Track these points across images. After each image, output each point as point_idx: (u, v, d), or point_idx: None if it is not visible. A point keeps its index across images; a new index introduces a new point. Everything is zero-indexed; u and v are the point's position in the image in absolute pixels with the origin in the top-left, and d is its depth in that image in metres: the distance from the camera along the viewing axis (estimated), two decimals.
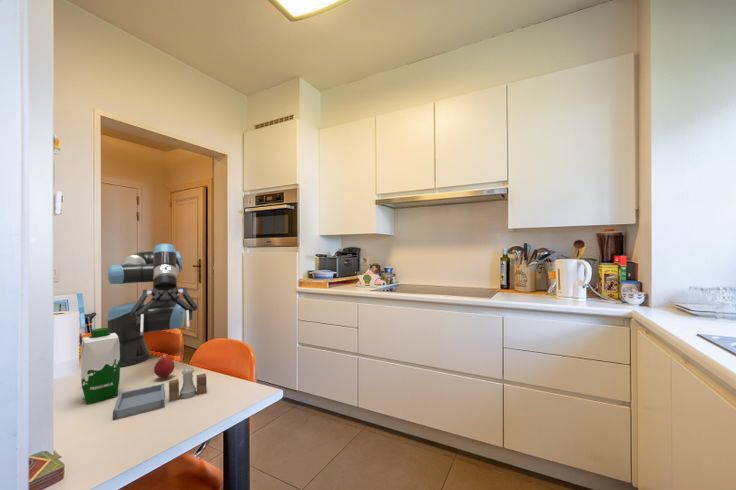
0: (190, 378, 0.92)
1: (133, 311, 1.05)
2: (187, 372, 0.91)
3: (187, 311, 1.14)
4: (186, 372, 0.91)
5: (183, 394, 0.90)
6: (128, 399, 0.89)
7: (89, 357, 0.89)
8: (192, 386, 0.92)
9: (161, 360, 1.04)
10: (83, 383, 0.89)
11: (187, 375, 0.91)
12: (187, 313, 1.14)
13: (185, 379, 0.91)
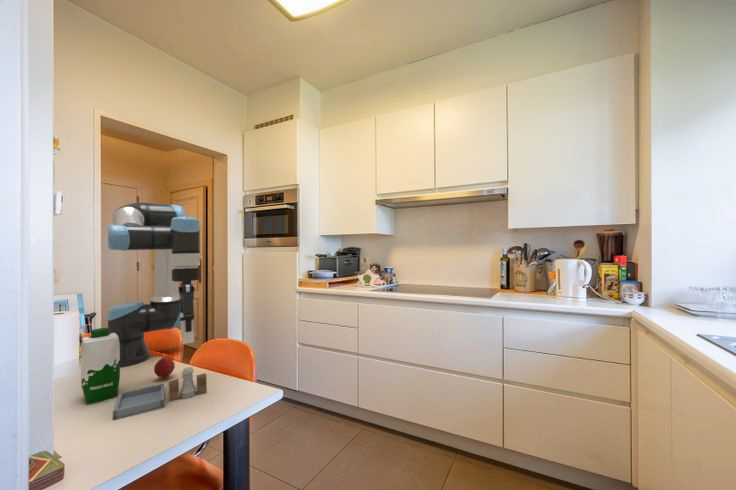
0: (190, 378, 0.92)
1: None
2: (187, 372, 0.91)
3: None
4: (186, 372, 0.91)
5: (183, 394, 0.90)
6: (128, 399, 0.89)
7: (89, 357, 0.89)
8: (192, 386, 0.92)
9: (161, 360, 1.04)
10: (83, 383, 0.89)
11: (187, 375, 0.91)
12: None
13: (185, 379, 0.91)
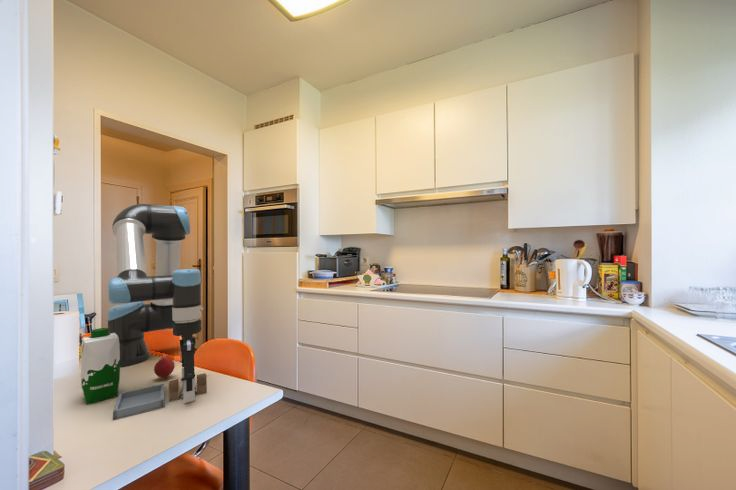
0: None
1: None
2: None
3: None
4: None
5: (183, 394, 0.90)
6: (128, 399, 0.89)
7: (89, 357, 0.89)
8: None
9: (161, 360, 1.04)
10: (83, 383, 0.89)
11: None
12: None
13: None
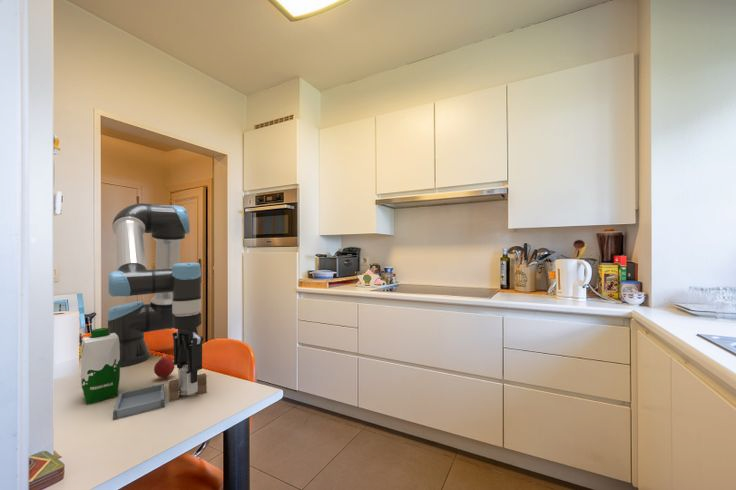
0: None
1: None
2: None
3: None
4: (187, 369, 0.91)
5: (184, 391, 0.90)
6: (128, 399, 0.89)
7: (89, 357, 0.89)
8: None
9: (161, 360, 1.04)
10: (83, 383, 0.89)
11: None
12: None
13: (186, 376, 0.91)
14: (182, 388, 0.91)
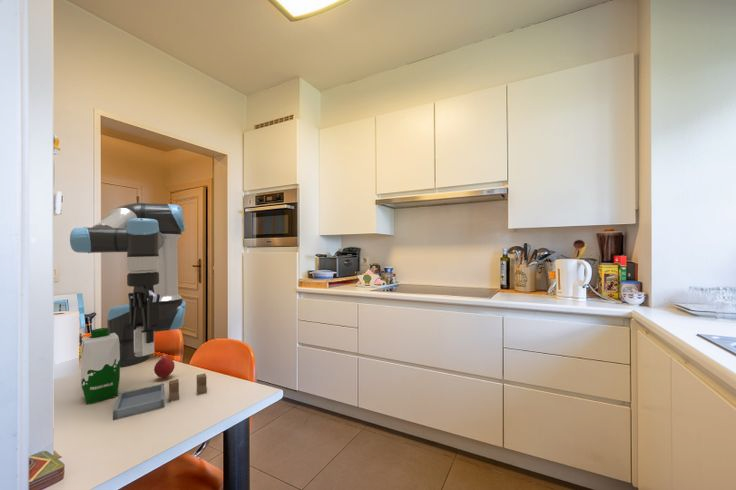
0: None
1: None
2: (142, 329, 0.87)
3: None
4: (141, 330, 0.87)
5: (139, 352, 0.86)
6: (128, 399, 0.89)
7: (89, 357, 0.89)
8: None
9: (161, 360, 1.04)
10: (83, 383, 0.89)
11: None
12: None
13: (140, 337, 0.87)
14: (137, 349, 0.87)
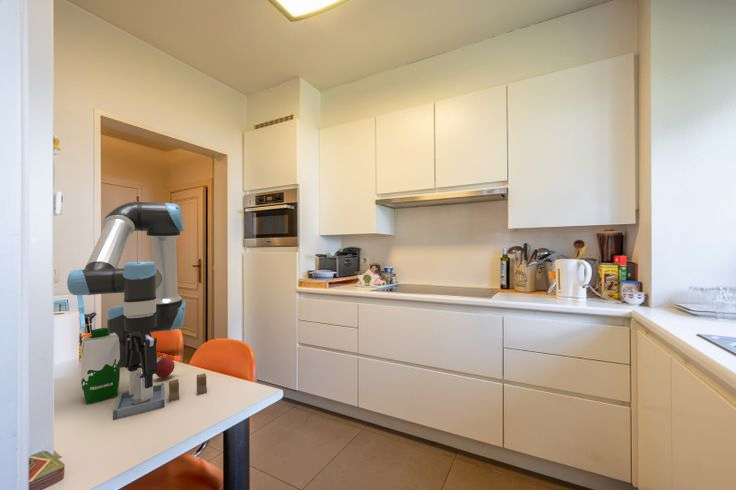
0: None
1: None
2: None
3: None
4: None
5: (137, 400, 0.86)
6: (128, 399, 0.89)
7: (89, 357, 0.89)
8: None
9: (161, 360, 1.04)
10: (83, 383, 0.89)
11: None
12: None
13: (139, 384, 0.87)
14: (135, 397, 0.86)
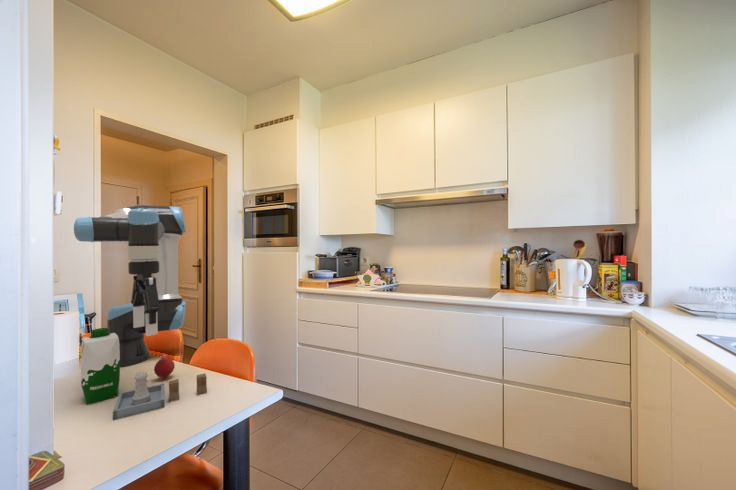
0: (144, 383, 0.87)
1: None
2: (141, 377, 0.87)
3: None
4: (140, 377, 0.87)
5: (136, 400, 0.86)
6: (128, 399, 0.89)
7: (89, 357, 0.89)
8: (146, 391, 0.88)
9: (161, 360, 1.04)
10: (83, 383, 0.89)
11: (141, 380, 0.87)
12: (143, 309, 0.98)
13: (139, 384, 0.87)
14: (134, 397, 0.86)
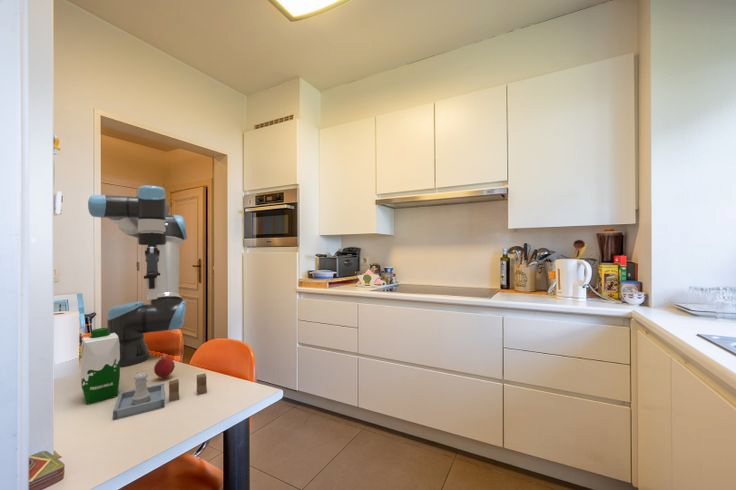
0: (144, 383, 0.87)
1: None
2: (141, 377, 0.87)
3: (158, 277, 1.08)
4: (140, 377, 0.87)
5: (136, 400, 0.86)
6: (128, 399, 0.89)
7: (89, 357, 0.89)
8: (146, 391, 0.88)
9: (161, 360, 1.04)
10: (83, 383, 0.89)
11: (141, 380, 0.87)
12: (157, 279, 1.08)
13: (138, 384, 0.87)
14: (134, 397, 0.86)
